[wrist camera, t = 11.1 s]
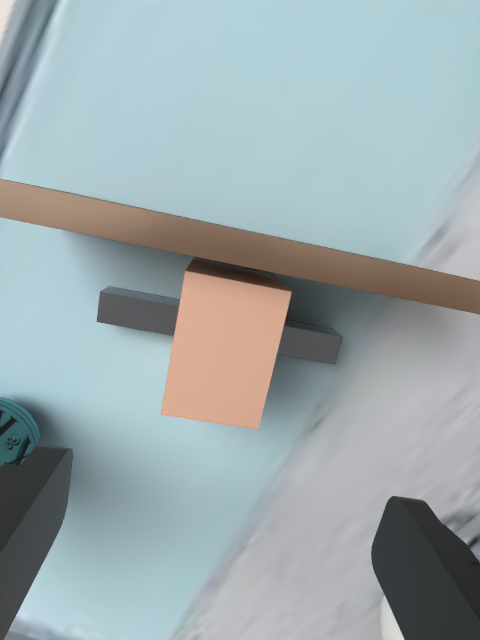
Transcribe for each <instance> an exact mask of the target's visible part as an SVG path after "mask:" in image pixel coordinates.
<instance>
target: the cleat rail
mask: <svg viewBox="0 0 480 640" xmlns="http://www.w3.org/2000/svg"><path fill="white" fill-rule="evenodd" d="M179 305H180V300H179V299H173V298H168V297H163V296H158V295H152V294H147V293H142V292H136V291H131V290H126V289H121V288H115V287H110V286H109V287H107V288H105V289H104V290H102V291H100V298H99V307H98V315H97V322H100V323H106V324H112V325H117V326H123V327H128V328H134V329H139V330H145V331H151V332H156V333H162V334H167V335H173V336H174V334H175V328H176V322H177V316H178V310H179ZM341 340H342V336H341V335H340V334H338V333H337V332H336V331H335V330H334V329H331V328H326V327H321V326H316V325H310V324H305V323H300V322H295V321H289V320H285V322H284V327H283V331H282V335H281V339H280V343H279V347H278V351H277V354H279V355H284V356H290V357H295V358H301V359H307V360H312V361H318V362H323V363H329V364H334V365H335V361H336V357H337V354H338V350H339V347H340V343H341Z"/></svg>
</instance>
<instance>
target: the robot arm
mask: <svg viewBox="0 0 480 640" xmlns="http://www.w3.org/2000/svg"><path fill="white" fill-rule="evenodd" d="M72 458H73V451H72V449H70V448H63V447H56V446H49V445H42V444H38V445H37V446H35V448H34V449H33V450H32V451H31V452H30V454H29V455H28V456H27V457H26V459H25V460H24V461H23V462H22V464H21V465H14V464H7V463H6V464H5V465H3V466H1V467H0V640H4V638H5V636H6V634H7V632H8V630H9V628H10V626H11V624H12V622H13V620H14V618H15V616H16V614H17V612H18V610H19V609H20V607H21V605H22V603H23V601H24V599H25V597H26V595H27V593H28V591H29V589H30V587H31V585H32V583H33V581H34V579H35V577H36V575H37V573H38V571H39V569H40V568H41V566H42V564H43V562H44V560H45V558H46V556H47V554H48V552H49V550H50V548H51V546H52V544H53V542H54V540H55V538H56V536H57V534H58V532H59V530H60V528H61V525H62V522H63V519H64V516H65V512H66V508H67V502H68V494H69V485H70V476H71V467H72ZM371 556H372V565H373V569H374V572H375V574H376V577H377V579H378V581H379V583H380V586H381V588H382V590H383V592H384V595H385V597H386V599H387V601H388V604H389V606H390V608H391V610H392V613H393V615H394V617H395V619H396V622H397V624H398V626H399V628H400V631H401V633H402V635H403V637H404V640H480V562H479V561H478V559H477V558H476V557H475V556H474V554H473V553H472V552H471V550H470V549H469V548H468V546H467V545H466V544H465V542H463V541H462V540H461V539H460V538H459V537H458V536H457V535H455V534H454V533H453V532H452V531H451V530H450V529H449V528H447V527H446V526H445V525H443V524H442V523H441V522H440V521H439V519H438V518H437V517H436V515H435V514H434V512H433V511H432V510H431V508H430V507H429V506H428V504H427V503H426V502H424V501H423V500H418V499H411V498H404V497H397V496H392V497H391V498H390V499H389V500H388V502H387V504H386V507H385V510H384V513H383V516H382V518H381V521H380V524H379V527H378V530H377V532H376V535H375V538H374V541H373V544H372V551H371Z"/></svg>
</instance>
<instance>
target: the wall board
mask: <svg viewBox="0 0 480 640" xmlns="http://www.w3.org/2000/svg"><path fill="white" fill-rule="evenodd" d="M0 217H2V218H7V219H12V220H17V221H22V222H27V223H32V224H37V225H42V226H46V227H51V228H56V229H61V230H66V231H71V232H76V233H81V234H86V235H91V236H96V237H101V238H106V239H111V240H116V241H121V242H125V243H130V244H135V245H140V246H145V247H150V248H155V249H160V250H165V251H170V252H175V253H180V254H185V255H190V256H195V257H199V258H204V259H209V260H214V261H219V262H224V263H229V264H234V265H239V266H244V267H249V268H254V269H259V270H264V271H269V272H274V273H278V274H283V275H288V276H293V277H298V278H303V279H308V280H313V281H318V282H323V283H328V284H333V285H338V286H343V287H348V288H352V289H357V290H362V291H367V292H372V293H377V294H382V295H387V296H392V297H397V298H402V299H407V300H412V301H417V302H422V303H426V304H431V305H436V306H441V307H446V308H451V309H456V310H461V311H466V312H471V313H476V314H480V281H477V280H473V279H468V278H464V277H460V276H455V275H451V274H446V273H442V272H437V271H433V270H429V269H424V268H420V267H415V266H411V265H406V264H402V263H397V262H392V261H388V260H383V259H378V258H373V257H369V256H364V255H359V254H355V253H350V252H345V251H341V250H336V249H331V248H326V247H322V246H317V245H312V244H308V243H303V242H298V241H294V240H289V239H284V238H280V237H275V236H270V235H265V234H261V233H256V232H251V231H247V230H242V229H237V228H233V227H228V226H223V225H218V224H214V223H209V222H204V221H200V220H195V219H190V218H186V217H181V216H176V215H172V214H167V213H162V212H157V211H153V210H148V209H143V208H139V207H134V206H129V205H125V204H120V203H115V202H111V201H106V200H101V199H96V198H92V197H87V196H82V195H78V194H73V193H68V192H64V191H59V190H54V189H49V188H44V187H39V186H34V185H29V184H24V183H19V182H14V181H9V180H4V179H0Z"/></svg>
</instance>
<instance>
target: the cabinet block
mask: <svg viewBox="0 0 480 640" xmlns="http://www.w3.org/2000/svg"><path fill="white" fill-rule="evenodd" d="M291 294H292V292H291V291H290V290H289V289H288V288H287V287H286V286H285V285H284V284H283V283H282V282H281V281H280V280H279V279H278V278H277V277H276V276H274V275H273V274H271V273H266V272H261V271H256V270H251V269H246V268H241V267H236V266H231V265H226V264H221V263H216V262H211V261H207V260H202V259H197V258H193V260H192V262H191V263H190V265H189V266H188V268H187V269H186V271H185V275H184V281H183V287H182V293H181V299H180V305H179V310H178V316H177V322H176V328H175V334H174V340H173V345H172V351H171V357H170V363H169V369H168V375H167V380H166V386H165V392H164V398H163V404H162V409H161V415H167V416H173V417H179V418H186V419H192V420H199V421H205V422H211V423H218V424H224V425H231V426H237V427H244V428H250V429H256V430H259V426H260V422H261V417H262V413H263V409H264V405H265V401H266V397H267V393H268V389H269V384H270V380H271V376H272V372H273V368H274V364H275V360H276V356H277V351H278V347H279V343H280V339H281V335H282V331H283V327H284V322H285V318H286V314H287V310H288V306H289V302H290V298H291Z"/></svg>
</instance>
